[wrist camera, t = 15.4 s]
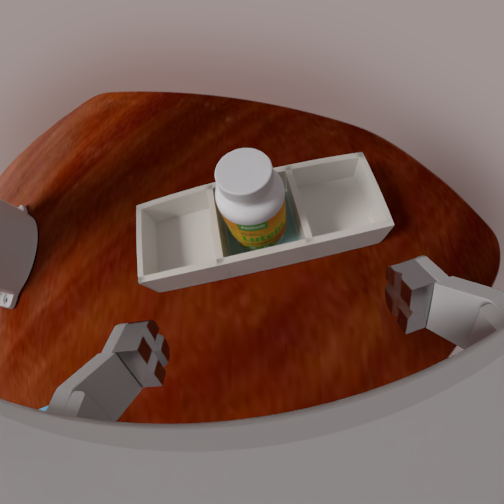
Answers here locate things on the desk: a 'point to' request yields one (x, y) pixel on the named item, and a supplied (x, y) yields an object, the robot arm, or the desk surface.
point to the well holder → (284, 253)
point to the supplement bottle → (251, 198)
